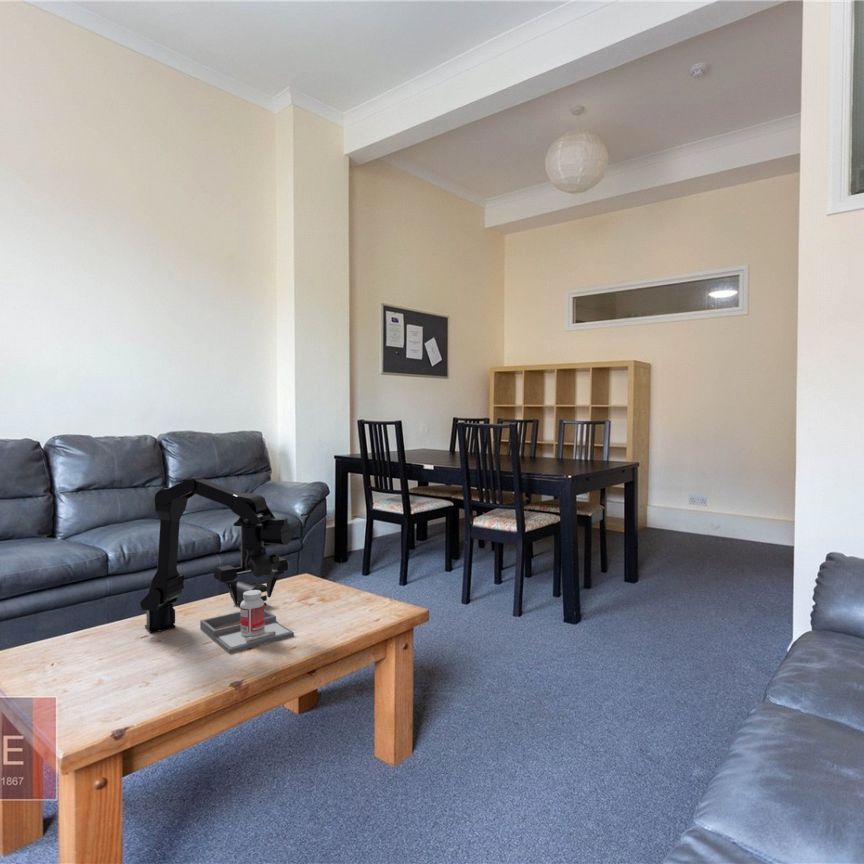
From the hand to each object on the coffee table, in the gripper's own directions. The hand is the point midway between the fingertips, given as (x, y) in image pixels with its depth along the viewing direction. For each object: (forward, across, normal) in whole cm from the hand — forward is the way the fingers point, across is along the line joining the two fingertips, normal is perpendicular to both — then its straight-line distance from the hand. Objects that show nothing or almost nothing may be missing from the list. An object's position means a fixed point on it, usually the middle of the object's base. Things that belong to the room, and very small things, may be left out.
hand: (252, 600), depth 152 cm
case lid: (+10, 0, -1) cm, 10 cm away
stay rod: (+9, 0, -5) cm, 10 cm away
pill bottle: (+9, 0, 0) cm, 9 cm away
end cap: (+10, +10, +27) cm, 31 cm away
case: (+10, 0, +10) cm, 14 cm away
